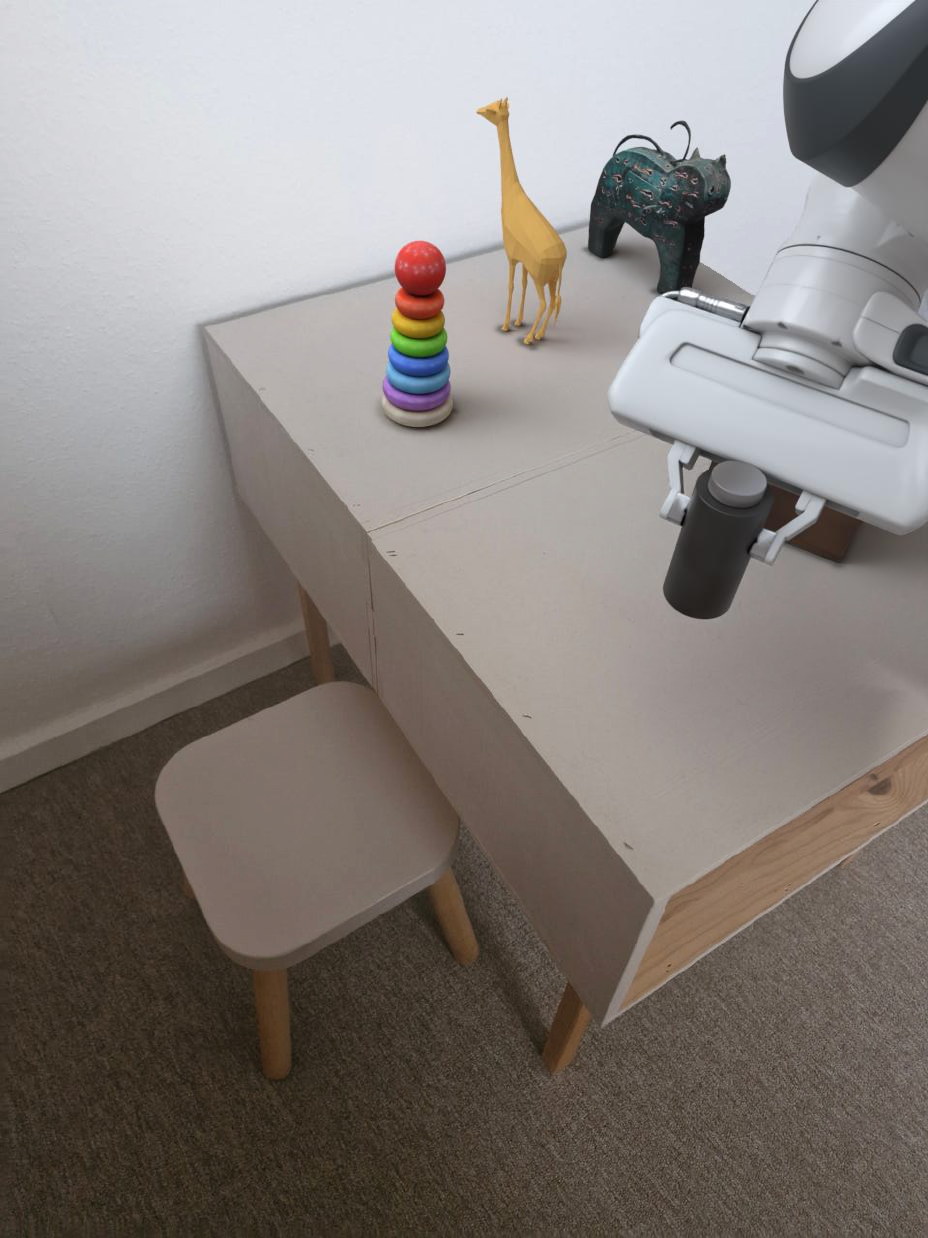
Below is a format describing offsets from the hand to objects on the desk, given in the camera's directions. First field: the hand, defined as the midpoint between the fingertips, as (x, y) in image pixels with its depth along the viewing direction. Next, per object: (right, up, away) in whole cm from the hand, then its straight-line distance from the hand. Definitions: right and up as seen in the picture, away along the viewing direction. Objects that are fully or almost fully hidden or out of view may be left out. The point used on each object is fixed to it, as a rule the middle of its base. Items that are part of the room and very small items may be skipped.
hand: (715, 541), depth 52 cm
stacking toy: (-21, +19, +43) cm, 51 cm away
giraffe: (-10, +33, +56) cm, 66 cm away
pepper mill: (0, -3, +4) cm, 5 cm away
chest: (+18, +8, +35) cm, 40 cm away
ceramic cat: (+9, +44, +67) cm, 80 cm away
